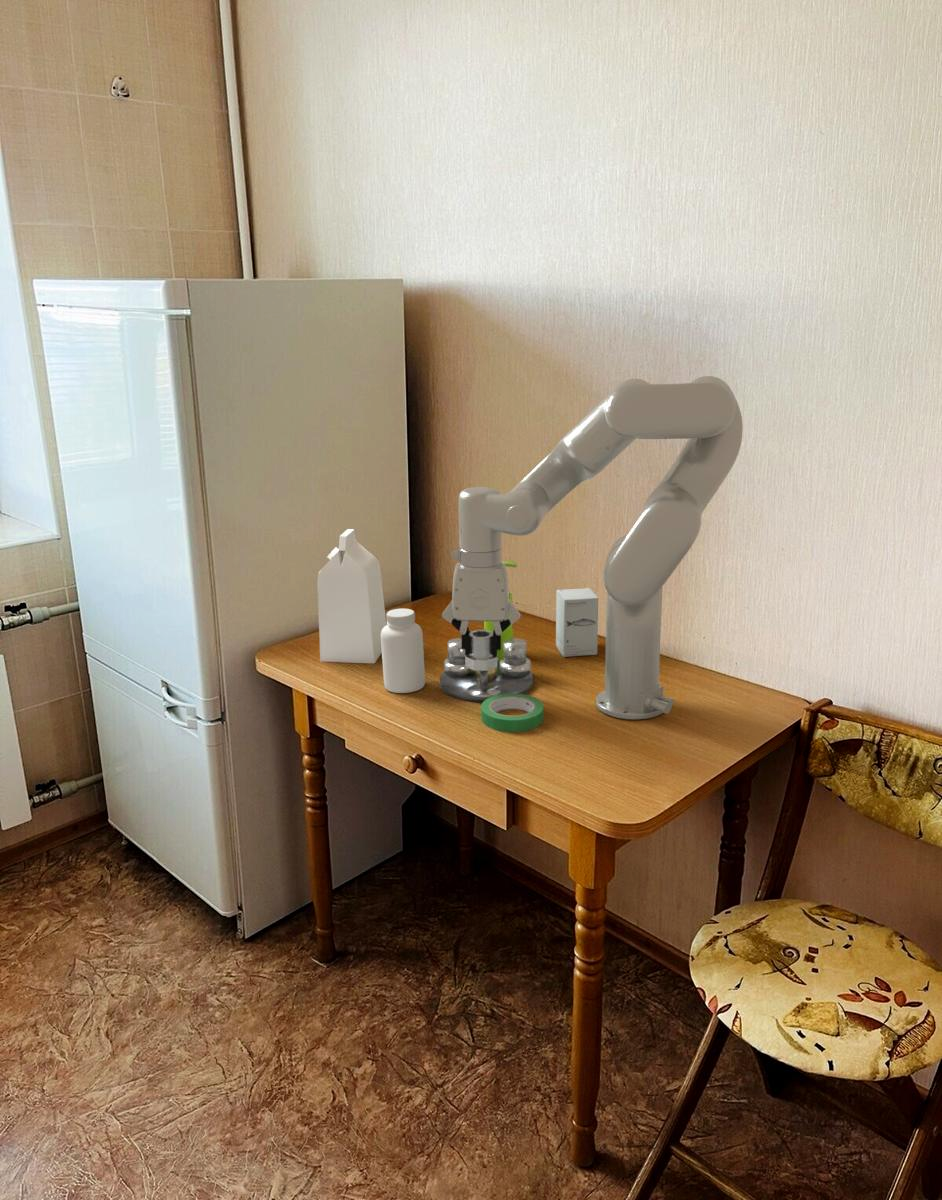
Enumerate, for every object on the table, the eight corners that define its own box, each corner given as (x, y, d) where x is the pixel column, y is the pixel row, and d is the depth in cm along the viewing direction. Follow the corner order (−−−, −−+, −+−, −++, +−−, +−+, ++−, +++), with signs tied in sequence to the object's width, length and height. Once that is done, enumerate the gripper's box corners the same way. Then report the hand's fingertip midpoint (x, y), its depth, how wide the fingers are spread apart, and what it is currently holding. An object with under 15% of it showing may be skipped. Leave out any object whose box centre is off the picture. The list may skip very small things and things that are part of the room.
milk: (374, 663, 195) (366, 540, 187) (320, 661, 197) (310, 539, 189) (388, 642, 207) (381, 525, 199) (337, 641, 208) (328, 525, 200)
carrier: (552, 683, 183) (552, 648, 181) (481, 710, 172) (480, 673, 170) (490, 658, 196) (489, 625, 194) (420, 682, 185) (419, 647, 183)
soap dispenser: (518, 659, 195) (517, 566, 189) (484, 660, 195) (482, 566, 189) (517, 649, 201) (516, 558, 194) (484, 650, 201) (482, 558, 195)
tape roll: (549, 730, 164) (549, 716, 164) (486, 735, 163) (486, 721, 162) (536, 704, 175) (536, 690, 174) (477, 709, 173) (476, 695, 173)
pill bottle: (399, 675, 189) (395, 603, 184) (433, 682, 185) (430, 609, 180) (375, 689, 182) (370, 615, 178) (410, 697, 178) (406, 622, 174)
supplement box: (563, 658, 195) (563, 599, 191) (555, 645, 202) (555, 588, 198) (598, 655, 196) (599, 597, 192) (589, 643, 203) (590, 586, 199)
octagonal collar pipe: (496, 670, 173) (496, 639, 171) (464, 670, 174) (464, 639, 172) (498, 658, 179) (498, 628, 177) (467, 658, 179) (466, 628, 177)
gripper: (430, 562, 167) (433, 659, 172) (527, 563, 165) (526, 661, 171) (435, 551, 174) (438, 644, 180) (528, 552, 172) (527, 646, 178)
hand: (481, 651), depth 175 cm, fingers closed on octagonal collar pipe, 4 cm apart
